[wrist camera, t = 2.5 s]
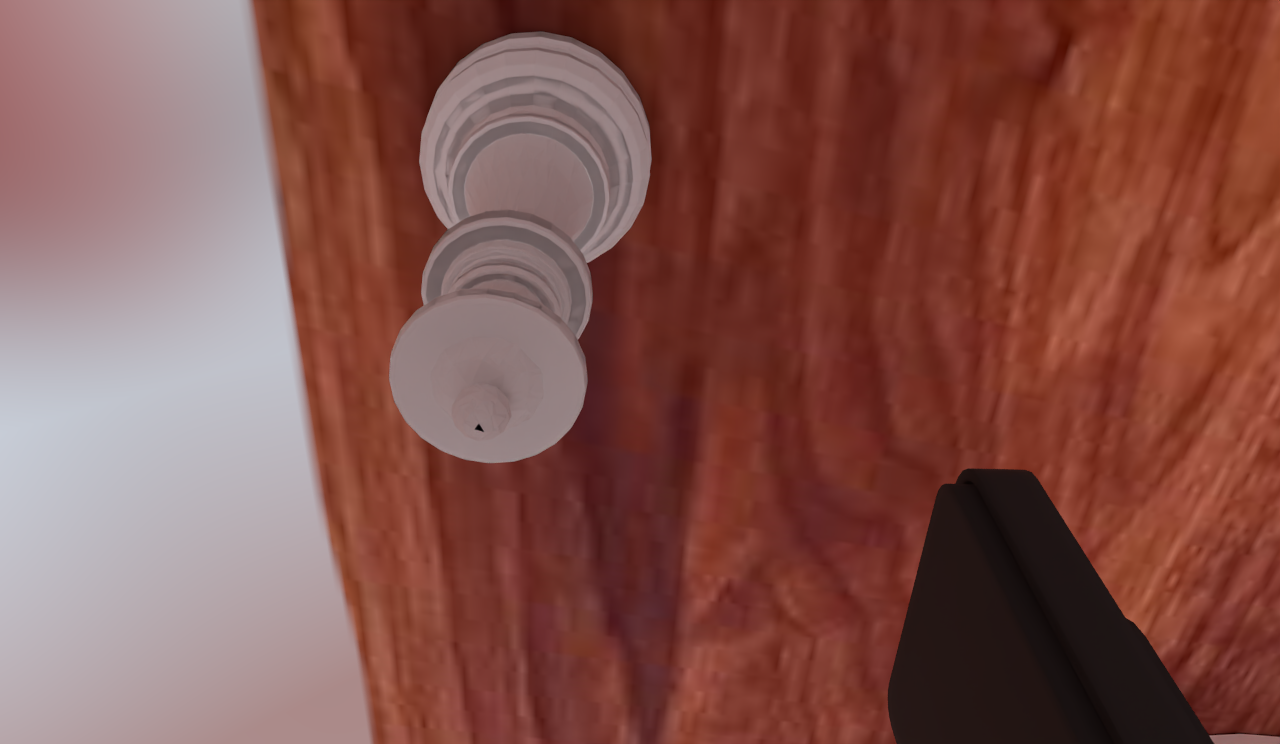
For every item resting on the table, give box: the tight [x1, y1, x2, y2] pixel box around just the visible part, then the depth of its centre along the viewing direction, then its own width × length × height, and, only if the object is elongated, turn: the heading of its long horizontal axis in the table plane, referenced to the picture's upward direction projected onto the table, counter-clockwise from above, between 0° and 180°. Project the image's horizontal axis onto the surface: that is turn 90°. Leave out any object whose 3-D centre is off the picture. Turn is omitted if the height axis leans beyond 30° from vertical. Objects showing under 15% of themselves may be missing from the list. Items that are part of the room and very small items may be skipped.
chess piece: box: [389, 31, 652, 463], centre depth 15 cm, size 4×4×10 cm
